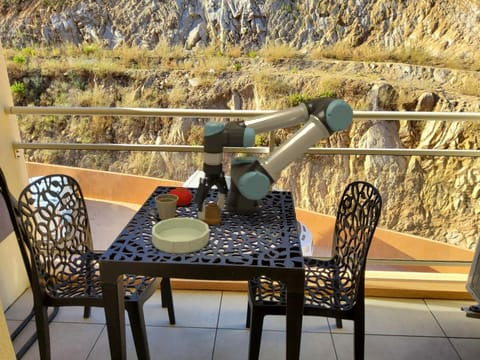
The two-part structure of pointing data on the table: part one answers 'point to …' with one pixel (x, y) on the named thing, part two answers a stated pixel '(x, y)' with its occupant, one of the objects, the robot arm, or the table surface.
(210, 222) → the ornamental finial
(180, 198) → the tomato
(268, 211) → the table surface
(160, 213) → the flower pot
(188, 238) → the bowl
